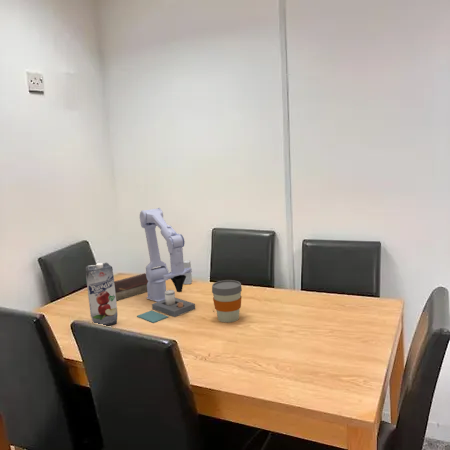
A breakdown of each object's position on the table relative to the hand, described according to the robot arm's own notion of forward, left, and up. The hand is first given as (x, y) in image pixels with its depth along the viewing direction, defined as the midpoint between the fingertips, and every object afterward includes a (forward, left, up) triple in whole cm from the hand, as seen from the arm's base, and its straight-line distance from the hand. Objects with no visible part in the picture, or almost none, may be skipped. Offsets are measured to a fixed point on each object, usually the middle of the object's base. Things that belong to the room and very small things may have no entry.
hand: (179, 291), depth 208 cm
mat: (-5, -12, -9) cm, 16 cm away
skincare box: (-30, +29, -10) cm, 43 cm away
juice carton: (-16, -29, -10) cm, 34 cm away
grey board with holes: (-5, 0, -9) cm, 11 cm away
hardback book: (-45, +4, -10) cm, 46 cm away
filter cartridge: (-7, 0, -9) cm, 12 cm away
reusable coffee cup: (+23, +7, -10) cm, 26 cm away
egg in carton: (0, 0, -9) cm, 9 cm away
